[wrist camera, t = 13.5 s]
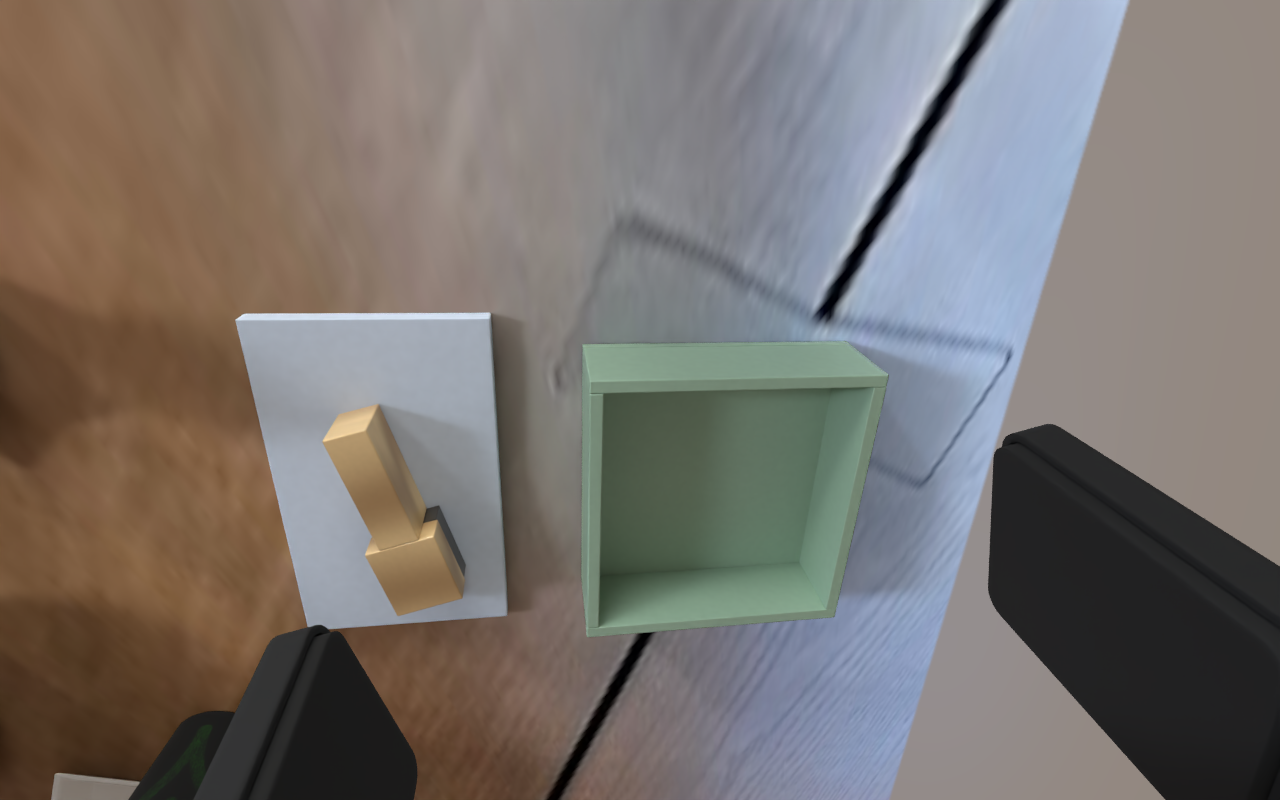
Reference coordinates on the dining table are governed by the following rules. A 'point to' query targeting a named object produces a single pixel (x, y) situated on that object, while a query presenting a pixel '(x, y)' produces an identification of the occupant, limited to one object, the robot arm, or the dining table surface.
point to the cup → (184, 758)
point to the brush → (395, 515)
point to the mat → (422, 426)
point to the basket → (721, 480)
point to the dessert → (91, 787)
